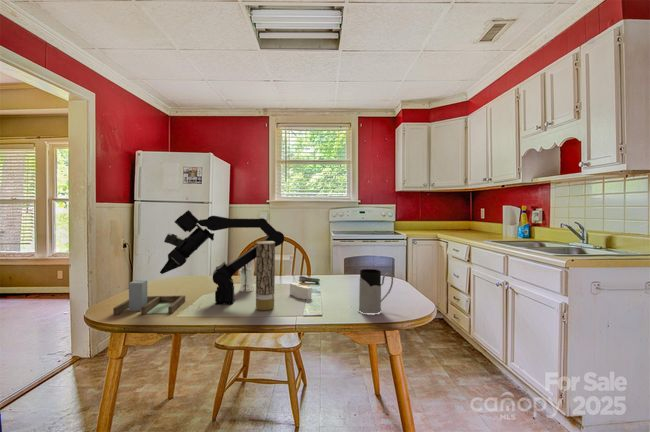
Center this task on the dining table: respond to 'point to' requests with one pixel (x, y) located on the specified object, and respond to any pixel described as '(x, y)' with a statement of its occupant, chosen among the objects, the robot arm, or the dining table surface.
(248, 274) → the white streaked block
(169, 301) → the comb rack
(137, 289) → the tall grey square prism
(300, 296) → the white rectangular block
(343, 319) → the dining table surface
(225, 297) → the robot arm
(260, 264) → the bark textured cylinder
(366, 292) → the grey mug
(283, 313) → the dining table surface
